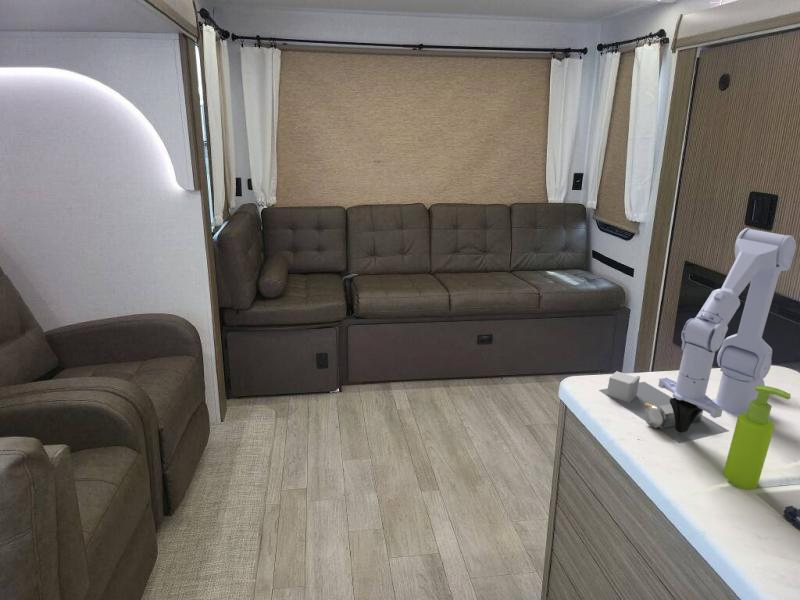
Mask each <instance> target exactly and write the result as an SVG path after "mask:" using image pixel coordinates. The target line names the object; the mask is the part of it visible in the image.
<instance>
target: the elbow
mask: <svg viewBox="0 0 800 600" xmlns="http://www.w3.org/2000/svg"><path fill="white" fill-rule="evenodd" d="M703 413H704V410H703V411H702V412H700V413H699V414H698V415H697V417H696V418H695V419H694V420H693V422H700V421H701V418H702V415H703ZM644 417H645V420H646V421H645V420H644V421H645V422H646V424H647V425H648V426H649V427H650V428H654V429H657V427H659V428H661V429H663V428H667V427H672V426H675V417H674V412H673V409H672V406H671V404H668V405H663V406H652V407H648V408H646V410H645V412H644Z"/></svg>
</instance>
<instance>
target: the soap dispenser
mask: <svg viewBox="0 0 800 600" xmlns="http://www.w3.org/2000/svg"><path fill="white" fill-rule="evenodd" d="M756 391H758V396H757V399H756V400H751V401H750V404H749V408H748V412H747V413H741V414H739V415H737V419H736V423H735V426H734V427H735V428H734V431H733V435H732V438H731V442H730V447H729V450H728V453H727V456H726V457H727V458H726V462H725V465H724V469H723V476H724V477H725V478H726V479H727V483H728V484H730V485H732V486H734V487H736V488H738V489H742V490H749V491H750V490H751V491H752V490H755V489H757V488H758V485H759V482H760V479H761V476H762V475H761V474H762V472H763V469H764V465H765V461H766V457H767V454H768V451H769V447H770V444H771V441H772V438H773V433H774V430H775V423H774V422H773V421H772V420H770V419H769V417H770V414H771V410H772V405H771V404H770V403H769V402H768V400H769V396H770V395H774V396H778V397H781V398H783V399H785V400H789V399H791V393H790V392H787V391H785V390H782V389H779V388H777V387H772V386H767V385H765V386H763V385H756Z"/></svg>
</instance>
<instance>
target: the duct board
mask: <svg viewBox="0 0 800 600" xmlns="http://www.w3.org/2000/svg"><path fill="white" fill-rule="evenodd" d="M640 379H641V376H639V375H637V376H634V375H631V374H626V373H624V372H620V371H618V370H616V371H615V372H614V373H613V374H611V376H610V377H609V380H608V384H607V388H603V389H599V390H598V391H599V392H600V393H602V394H604V395H605V396H606V397H608V398H609V399H611V400H613V401H614V402H616V403H617V404H618V405H620V406H622V407H624V408H625V409H626V410H627V411H629V412H631V413H633V414H634V415H636V416H637V417H638V418H640V419H641V420H643V421H645V422H646V420H645V417H644V412H645V410H646V408H648V407H652V406H663V405H668V404H670V399H671V398H673V396H670V395H668V394H666V393H665V392H663V391H662V390H660V389H658V388H656V387H654V386H652V385H651V384H649V383H647V382H646V381H640ZM656 429H657V430H658V431H660V432H661V433H663V434H665V436H668V437H669V438H671V439H672V440H674V441H675V442H676V443H678V444H681V443H686V442H690V441H695V440H699V439H702V438H707V437H710V436H715V435H718V434H723V433H727V432H729V431H730V430H729V429H727V428H725V427H724V426H722V425H721V424H719V423H716V422H714V421H713V420H712V419H709V418H708V417H706V416H704V415H703V414H702V418H701V421H700V422H692V423H691V425H690V427H689V428H688V430H687V431H686V432H682V433H680V432H678V431H677V430H676V427H675V426H672V427H667V428H663V429H661V428H659V427H657V428H656Z"/></svg>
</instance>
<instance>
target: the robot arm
mask: <svg viewBox="0 0 800 600" xmlns="http://www.w3.org/2000/svg"><path fill="white" fill-rule="evenodd" d="M796 242H797V241H796V239H795V238H794V236H793V235H788V234H787V235H786V234H780V233H774V232H768V231H764V230H759V229H753V228H750V227H745V228H744V229H743V230H741V231H740V232H739V234H738V236H737V237H736V240H735V243H734V257H735V260H734V263H733V264H732V266H731V268H730V269H729V272H728V274H727V276H726V278H725V279H724V281H723V284H722V286H721V288H717V289H714V290H712V291H711V293H710V294H709V296H708V297H707V299H706V301H705V302H704V303H703V305H702V307H701V309H700V310H699V312H698V313H697V314H696V316H695V317H694V318H692V317H691V318H689V319H688V320H687V321H686V322H685V324H684V326H683V328H682V331H681V337H680V338H681V342H682V344H681V350H682V351H683V352H682V358H681V360H680V361H681V362H680V366H679V371H678V375H677V379H676V381H675V380H672V379H670V378H668V377H662V378H659V381H658V385H657V386H658V388H660V389H664V390H667V391H669V392H670V393H672V398H671V399H670V404H671V406H672V409H673V412H674V417H675V427H676V430H677V431H678V432H680V433H682V432H686V431H687V430H688V428H689V427H690V425H691V423H692V422H693V420H694V419H695V418H696V417H697V415H698V414H699V413H700V412H702V411H703V412H706V413H708V414H709V415H710V417H711V418H713V419H717V418H720V417H722V414H723V412H725V413H727V414H729V415H731V416H733V417H737V418H738V415H739V414H741V413H747V412H748V408H749V404H750V401H751V400H756V399H757V396H758V391H756V385H763V386H766V385H765V380H764V379H765V378H766V377H767V375H768V374H769V372H770V369H771V366H772V357H773V349H772V347H771V346H770V345H769V344H768V343H767V342H766V341H765V340H764V339H763V334H764V331H765V326H766V323H767V320H768V315H769V312H770V309H771V305H772V301H773V298H774V295H775V291H776V287H777V284H778V280H779V277H780V274H781V272H786V271H789V270H790V268H791V266H792V263H793V259H794V256H795V252H796V250H797V249H796V248H797V243H796ZM748 285H749V289H748V292H747V295H746V300H745V303H744V307H743V312H742V314H741V318H740V323H739V327H738V330H737V333H735V334H731V335H730V336H727V337H726V334H727V332H728V330H729V327H728V326H729V323H730V321H731V320H732V319H733V317H734V315H735V313H736V312H737V310H738V309H739V307H740V305H741V300H740V298H739V296H740V295H741V294H742V292H743V291H744V290H745V289H746V287H747V286H748ZM725 337H726V338H725ZM718 350H719V351H718ZM717 351H718V353H717V358H716V363H717V365H718V367H720V370H719V372H722V374H721V376H720V377H721V378H720V382H719V386H718V390H717V395H716V398H712V399H711V398H710V397H709V395H707V390H708V385H709V380H710V375H711V372H712V368H713V364H714V359H715V355H716V352H717Z"/></svg>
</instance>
